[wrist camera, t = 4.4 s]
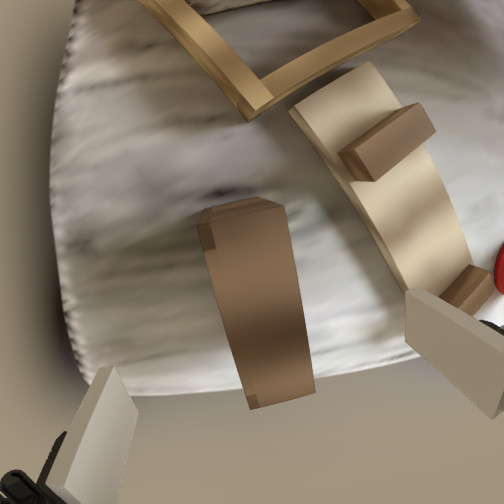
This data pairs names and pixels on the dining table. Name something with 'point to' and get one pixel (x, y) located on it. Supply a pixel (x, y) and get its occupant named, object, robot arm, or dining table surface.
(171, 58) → the dining table surface
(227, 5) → the seashell
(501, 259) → the canned food
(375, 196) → the ledge
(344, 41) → the shell cradle
